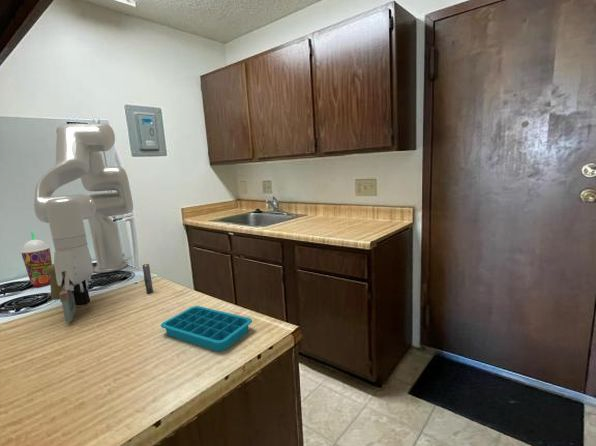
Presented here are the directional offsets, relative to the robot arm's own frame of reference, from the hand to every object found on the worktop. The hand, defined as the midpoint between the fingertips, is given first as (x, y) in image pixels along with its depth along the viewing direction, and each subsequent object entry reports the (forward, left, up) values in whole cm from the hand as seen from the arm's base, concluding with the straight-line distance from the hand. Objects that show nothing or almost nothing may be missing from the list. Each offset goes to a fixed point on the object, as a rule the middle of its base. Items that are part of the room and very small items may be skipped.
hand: (83, 303), depth 91 cm
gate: (-1, -4, -2) cm, 4 cm away
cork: (-16, -16, -3) cm, 23 cm away
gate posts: (-11, +3, -3) cm, 12 cm away
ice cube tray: (+19, +38, -3) cm, 43 cm away
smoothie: (-30, -31, -3) cm, 44 cm away
